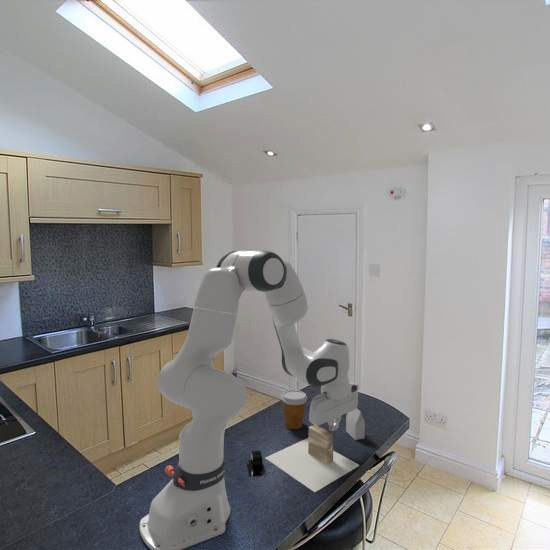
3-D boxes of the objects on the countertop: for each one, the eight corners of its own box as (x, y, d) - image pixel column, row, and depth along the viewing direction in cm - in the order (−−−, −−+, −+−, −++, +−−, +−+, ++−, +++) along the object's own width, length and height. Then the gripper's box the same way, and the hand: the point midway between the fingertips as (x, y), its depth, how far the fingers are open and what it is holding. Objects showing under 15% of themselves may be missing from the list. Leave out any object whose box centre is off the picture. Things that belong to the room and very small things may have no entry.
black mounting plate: (271, 478, 120) (271, 464, 119) (246, 481, 118) (246, 466, 118) (264, 455, 132) (264, 442, 131) (242, 457, 130) (242, 444, 130)
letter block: (326, 464, 126) (327, 436, 125) (308, 453, 132) (308, 427, 131) (333, 460, 128) (333, 433, 127) (314, 450, 134) (315, 424, 133)
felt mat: (314, 492, 113) (314, 492, 113) (264, 458, 129) (264, 457, 129) (359, 465, 126) (359, 465, 126) (309, 437, 142) (309, 437, 142)
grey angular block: (354, 440, 141) (355, 413, 139) (345, 431, 147) (346, 404, 146) (364, 438, 142) (365, 411, 141) (355, 429, 148) (355, 403, 147)
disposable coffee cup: (311, 423, 152) (311, 393, 151) (298, 434, 144) (299, 402, 143) (289, 417, 158) (289, 387, 156) (276, 427, 150) (276, 396, 148)
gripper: (319, 400, 122) (318, 443, 124) (361, 384, 135) (360, 423, 137) (304, 393, 127) (304, 435, 129) (347, 378, 140) (345, 416, 142)
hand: (333, 429), depth 133 cm, fingers closed
